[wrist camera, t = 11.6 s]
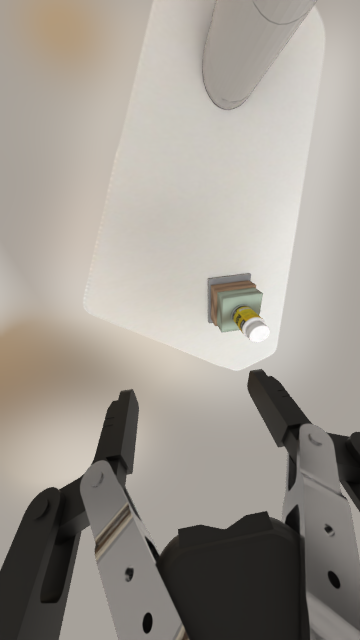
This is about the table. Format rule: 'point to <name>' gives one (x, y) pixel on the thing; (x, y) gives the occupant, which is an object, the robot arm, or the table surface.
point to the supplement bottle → (250, 323)
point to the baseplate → (221, 281)
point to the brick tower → (232, 302)
